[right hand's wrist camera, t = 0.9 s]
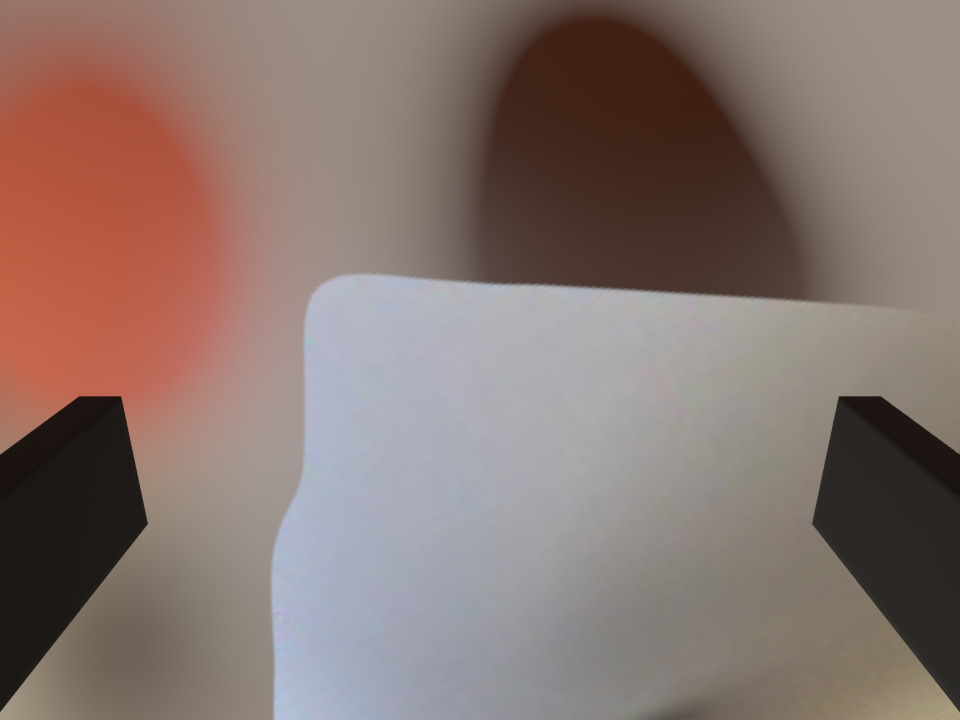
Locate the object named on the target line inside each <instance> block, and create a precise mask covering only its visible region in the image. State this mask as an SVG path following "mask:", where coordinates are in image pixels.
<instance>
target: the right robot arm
mask: <svg viewBox="0 0 960 720" xmlns="http://www.w3.org/2000/svg"><path fill="white" fill-rule="evenodd" d="M147 524H148V522H147V518H146V513H145V508H144V503H143V498H142V494H141V489H140V484H139V479H138V475H137V470H136V465H135V460H134V456H133V451H132V446H131V441H130V437H129V432H128V427H127V422H126V417H125V412H124V408H123V403H122V398H121V396H79V397H78V398H77V399H75V400H74V401H72V402H71V403H70V404H68V405H67V406H66V407H64V408H63V409H62V410H60V411H59V412H57V413H56V414H55V415H53V416H52V417H51V418H49V419H48V420H47V421H45V422H44V423H42V424H41V425H40V426H38V427H37V428H36V429H34V430H33V431H32V432H30V433H29V434H28V435H26V436H25V437H24V438H22V439H21V440H19V441H18V442H17V443H15V444H14V445H13V446H11V447H10V448H9V449H7V450H6V451H5V452H3V453H2V454H0V712H1V710H2V709H3V708H4V706H5V705H6V704H7V703H8V701H9V700H10V699H11V697H12V696H13V695H14V694H15V692H16V691H17V690H18V689H19V687H20V686H21V685H22V684H23V682H24V681H25V680H26V678H27V677H28V676H29V675H30V673H31V672H32V671H33V670H34V668H35V667H36V666H37V664H38V663H39V662H40V661H41V659H42V658H43V657H44V655H45V654H46V653H47V652H48V650H49V649H50V648H51V647H52V645H53V644H54V643H55V642H56V640H57V639H58V638H59V636H60V635H61V634H62V633H63V631H64V630H65V629H66V628H67V626H68V625H69V624H70V622H71V621H72V620H73V619H74V617H75V616H76V615H77V614H78V612H79V611H80V610H81V608H82V607H83V606H84V605H85V603H86V602H87V601H88V599H89V598H90V597H91V596H92V594H93V593H94V592H95V591H96V589H97V588H98V587H99V585H100V584H101V583H102V582H103V580H104V579H105V578H106V577H107V575H108V574H109V573H110V571H111V570H112V569H113V568H114V566H115V565H116V564H117V563H118V561H119V560H120V559H121V557H122V556H123V555H124V554H125V552H126V551H127V550H128V549H129V547H130V546H131V545H132V543H133V542H134V541H135V540H136V538H137V537H138V536H139V534H140V533H141V532H142V531H143V529H144V528H145V527H146V526H147ZM812 524H813V526H814V527H815V528H816V529H817V531H818V532H819V533H820V535H821V536H822V537H823V538H824V540H825V541H826V542H827V543H828V545H829V546H830V547H831V549H832V550H833V551H834V552H835V554H836V555H837V556H838V557H839V559H840V560H841V561H842V563H843V564H844V565H845V566H846V568H847V569H848V570H849V571H850V573H851V574H852V575H853V577H854V578H855V579H856V580H857V582H858V583H859V584H860V585H861V587H862V588H863V589H864V591H865V592H866V593H867V594H868V596H869V597H870V598H871V599H872V601H873V602H874V603H875V605H876V606H877V607H878V608H879V610H880V611H881V612H882V614H883V615H884V616H885V617H886V619H887V620H888V621H889V622H890V624H891V625H892V626H893V628H894V629H895V630H896V631H897V633H898V634H899V635H900V636H901V638H902V639H903V640H904V642H905V643H906V644H907V645H908V647H909V648H910V649H911V650H912V652H913V653H914V654H915V656H916V657H917V658H918V659H919V661H920V662H921V663H922V664H923V666H924V667H925V668H926V670H927V671H928V672H929V673H930V675H931V676H932V677H933V678H934V680H935V681H936V682H937V684H938V685H939V686H940V687H941V689H942V690H943V691H944V692H945V694H946V695H947V696H948V698H949V699H950V700H951V701H952V703H953V704H954V705H955V706H956V708H957V709H958V710H959V712H960V454H958V453H957V452H955V451H954V450H953V449H951V448H950V447H949V446H947V445H946V444H945V443H943V442H942V441H941V440H939V439H938V438H936V437H935V436H934V435H932V434H931V433H930V432H928V431H927V430H926V429H924V428H923V427H922V426H920V425H919V424H918V423H916V422H915V421H913V420H912V419H911V418H909V417H908V416H907V415H905V414H904V413H903V412H901V411H900V410H899V409H897V408H896V407H894V406H893V405H892V404H890V403H889V402H888V401H886V400H885V399H884V398H882V397H881V396H839V398H838V403H837V408H836V412H835V417H834V422H833V427H832V432H831V436H830V441H829V446H828V451H827V455H826V460H825V465H824V470H823V475H822V479H821V484H820V489H819V494H818V498H817V503H816V508H815V513H814V518H813V522H812Z"/></svg>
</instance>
